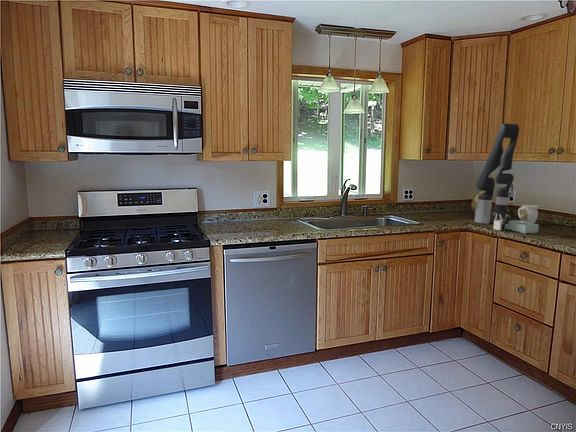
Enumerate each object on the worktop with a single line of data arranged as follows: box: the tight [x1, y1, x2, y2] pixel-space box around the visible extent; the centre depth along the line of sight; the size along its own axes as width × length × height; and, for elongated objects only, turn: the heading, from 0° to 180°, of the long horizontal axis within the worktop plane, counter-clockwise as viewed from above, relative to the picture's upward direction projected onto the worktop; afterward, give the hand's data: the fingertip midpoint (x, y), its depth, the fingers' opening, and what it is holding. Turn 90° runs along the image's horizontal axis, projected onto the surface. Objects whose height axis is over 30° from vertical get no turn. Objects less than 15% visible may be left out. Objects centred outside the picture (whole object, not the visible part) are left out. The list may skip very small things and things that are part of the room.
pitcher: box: [517, 204, 541, 224], centre depth 297 cm, size 11×18×14 cm, turn 14°
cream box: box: [492, 220, 506, 231], centre depth 271 cm, size 5×5×6 cm
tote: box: [505, 220, 540, 235], centre depth 267 cm, size 16×12×6 cm
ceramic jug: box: [470, 190, 493, 216], centre depth 332 cm, size 17×15×30 cm
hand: (499, 228), depth 271 cm, fingers closed on cream box, 5 cm apart
